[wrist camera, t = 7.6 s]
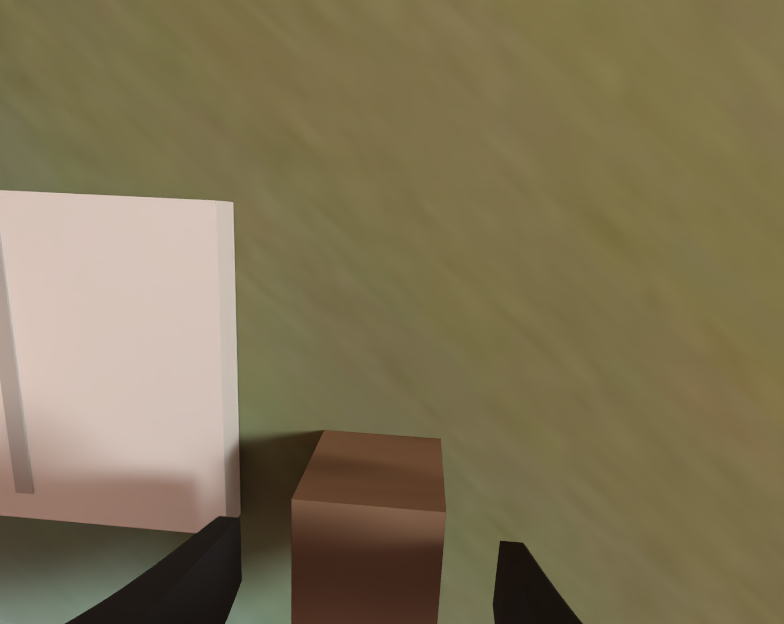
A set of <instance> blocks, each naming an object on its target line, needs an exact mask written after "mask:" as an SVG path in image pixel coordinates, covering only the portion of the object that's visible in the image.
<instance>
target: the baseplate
mask: <svg viewBox="0 0 784 624" xmlns="http://www.w3.org/2000/svg"><path fill="white" fill-rule="evenodd" d="M240 514H241V505H240V463H239V421H238V379H237V337H236V295H235V253H234V211H233V202H226V201H212V200H191V199H171V198H150V197H129V196H108V195H88V194H67V193H46V192H25V191H4V190H0V515H2V516H13V517H24V518H35V519H46V520H57V521H67V522H78V523H89V524H100V525H111V526H122V527H133V528H144V529H155V530H166V531H177V532H188V533H197V532H199V531H200V530H201V529H202V528H204V527H205V526H206V525H208V524H209V523H210V522H211V521H213V520H214V519H215V518H217V517H218V516H226V517H237V518H238V517H239V515H240Z"/></svg>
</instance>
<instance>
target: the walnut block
mask: <svg viewBox="0 0 784 624" xmlns="http://www.w3.org/2000/svg"><path fill="white" fill-rule="evenodd" d="M445 520H446V504H445V491H444V478H443V464H442V451H441V439H436V438H422V437H409V436H396V435H383V434H369V433H356V432H343V431H330V430H324V431H323V434H322V436H321V438H320V440H319V442H318V444H317V446H316V448H315V451H314V453H313V455H312V457H311V459H310V461H309V463H308V465H307V468H306V470H305V472H304V474H303V476H302V478H301V480H300V482H299V485H298V487H297V489H296V491H295V493H294V495H293V497H292V600H291V624H437V620H438V607H439V595H440V582H441V570H442V558H443V545H444V533H445Z"/></svg>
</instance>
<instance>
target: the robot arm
mask: <svg viewBox="0 0 784 624" xmlns="http://www.w3.org/2000/svg"><path fill="white" fill-rule="evenodd" d="M241 581H242V573H241V536H240V518H237V517H226V516H218V517H217V518H215V519H214V520H213V521H211V522H210V523H209V524H208V525H206V526H205V527H204V528H202V529H201V530H200V531H199V532H197V533H196V534H195V535H194V536H192V537H191V538H190V539H189V540H187V541H186V542H185V543H183V544H182V545H181V546H180V547H178V548H177V549H176V550H174V551H173V552H172V553H170V554H169V555H168V556H166V557H165V558H164V559H163V560H161V561H160V562H159V563H157V564H156V565H155V566H153V567H152V568H150V569H149V570H147V571H146V572H145V573H143V574H142V575H140V576H139V577H138V578H136V579H135V580H133V581H132V582H130V583H129V584H128V585H126V586H125V587H123V588H122V589H120V590H119V591H118V592H116V593H114V594H113V595H111V596H110V597H108V598H107V599H105V600H104V601H102V602H100V603H99V604H97V605H96V606H94V607H92V608H91V609H89V610H87V611H86V612H84V613H82V614H81V615H79V616H77V617H76V618H74V619H72V620H70V621H69V622H67V623H65V624H225V622H226V620H227V618H228V615H229V613H230V610H231V608H232V605H233V602H234V600H235V597H236V594H237V592H238V589H239V586H240V584H241ZM493 611H494V620H495V624H582V622H581V621H580V620H579V619H578V617H577V616H576V615H575V614H574V612H573V611H572V610H571V608H570V607H569V606H568V604H567V603H566V602H565V601H564V599H563V598H562V597H561V595H560V594H559V593H558V591H557V590H556V589H555V587H554V586H553V585H552V583H551V582H550V580H549V579H548V578H547V576H546V575H545V573H544V572H543V571H542V569H541V568H540V566H539V565H538V563H537V562H536V560H535V559H534V557H533V556H532V554H531V553H530V552H529V550H528V549H527V547H526V546H525V545H524V544H523V543H520V542H508V541H500V545H499V554H498V563H497V572H496V581H495V590H494V598H493Z"/></svg>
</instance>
